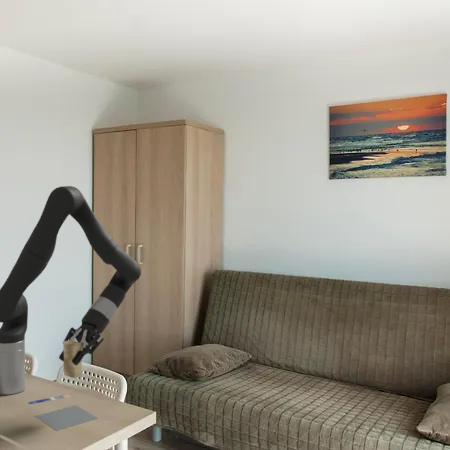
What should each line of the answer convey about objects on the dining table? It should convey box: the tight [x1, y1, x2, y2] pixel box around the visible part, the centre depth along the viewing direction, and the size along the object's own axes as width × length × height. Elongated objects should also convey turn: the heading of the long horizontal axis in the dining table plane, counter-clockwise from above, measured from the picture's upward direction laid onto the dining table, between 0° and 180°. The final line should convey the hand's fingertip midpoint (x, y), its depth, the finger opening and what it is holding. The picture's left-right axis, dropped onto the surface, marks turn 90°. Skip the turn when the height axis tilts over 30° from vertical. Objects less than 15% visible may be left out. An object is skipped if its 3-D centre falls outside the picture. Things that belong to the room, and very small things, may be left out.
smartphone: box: [27, 392, 74, 405], centre depth 167 cm, size 7×1×15 cm
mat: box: [35, 404, 99, 432], centre depth 154 cm, size 14×13×1 cm
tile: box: [62, 340, 83, 379], centre depth 155 cm, size 6×2×10 cm, turn 53°
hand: (67, 361), depth 153 cm, fingers closed on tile, 5 cm apart
